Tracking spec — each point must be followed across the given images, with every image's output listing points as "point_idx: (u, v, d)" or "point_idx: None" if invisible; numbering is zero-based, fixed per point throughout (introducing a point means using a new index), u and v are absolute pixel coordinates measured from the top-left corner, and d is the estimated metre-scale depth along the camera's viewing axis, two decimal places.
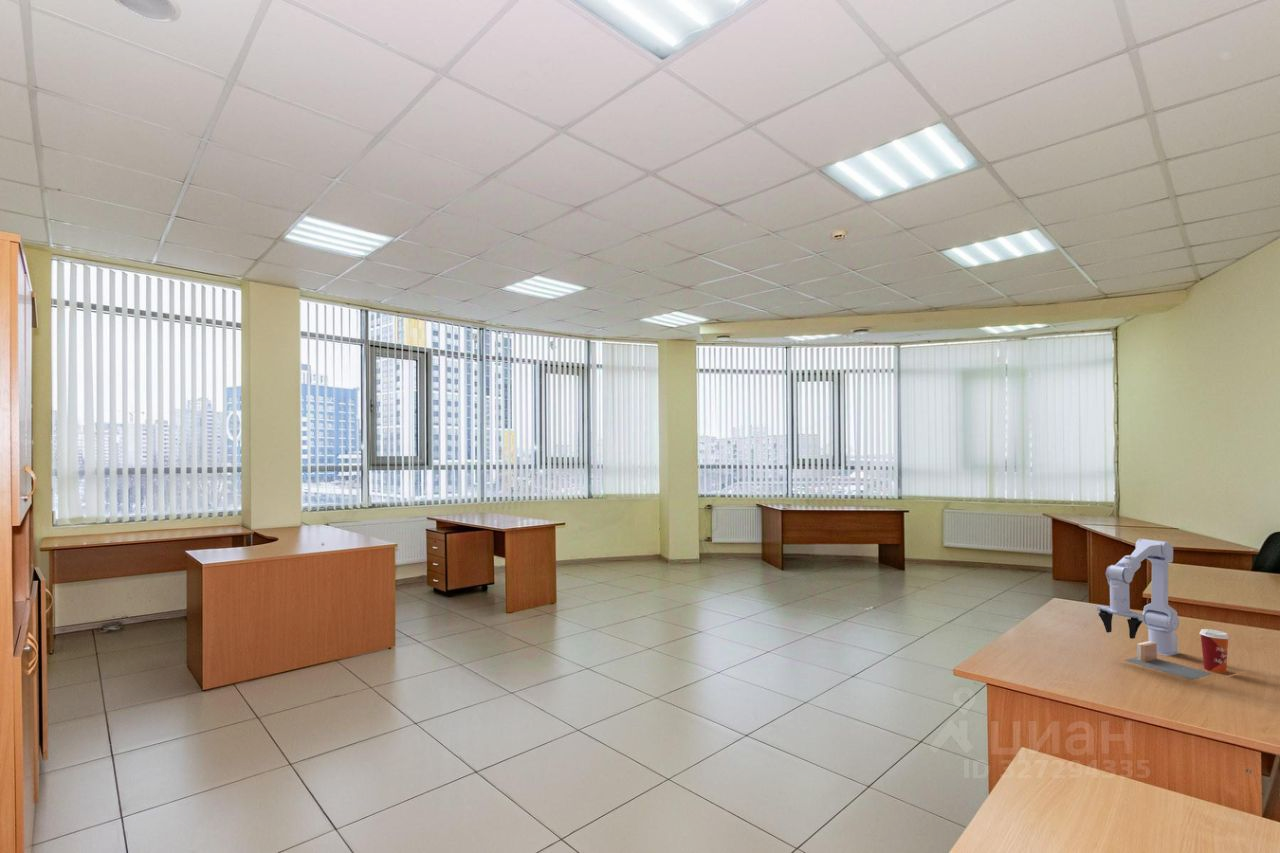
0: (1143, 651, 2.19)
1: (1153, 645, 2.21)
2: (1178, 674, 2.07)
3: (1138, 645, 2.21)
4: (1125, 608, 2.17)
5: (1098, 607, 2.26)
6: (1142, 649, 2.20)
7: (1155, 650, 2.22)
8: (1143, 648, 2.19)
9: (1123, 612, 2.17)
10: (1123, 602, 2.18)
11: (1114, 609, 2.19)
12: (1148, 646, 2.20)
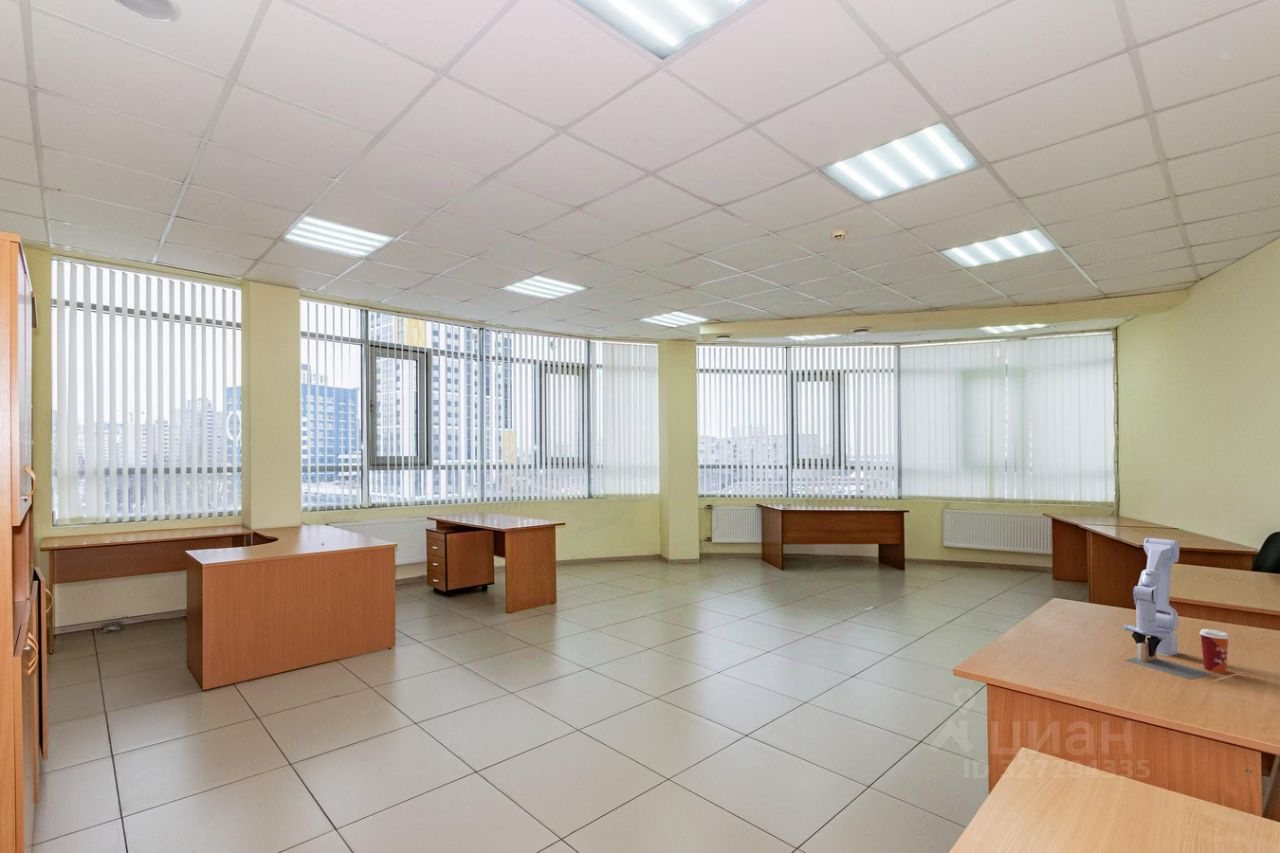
0: (1143, 651, 2.19)
1: None
2: (1178, 674, 2.07)
3: (1138, 645, 2.21)
4: (1152, 628, 2.19)
5: (1124, 626, 2.27)
6: (1142, 649, 2.20)
7: None
8: (1143, 648, 2.19)
9: (1150, 632, 2.19)
10: (1150, 622, 2.19)
11: (1141, 629, 2.21)
12: (1148, 646, 2.20)
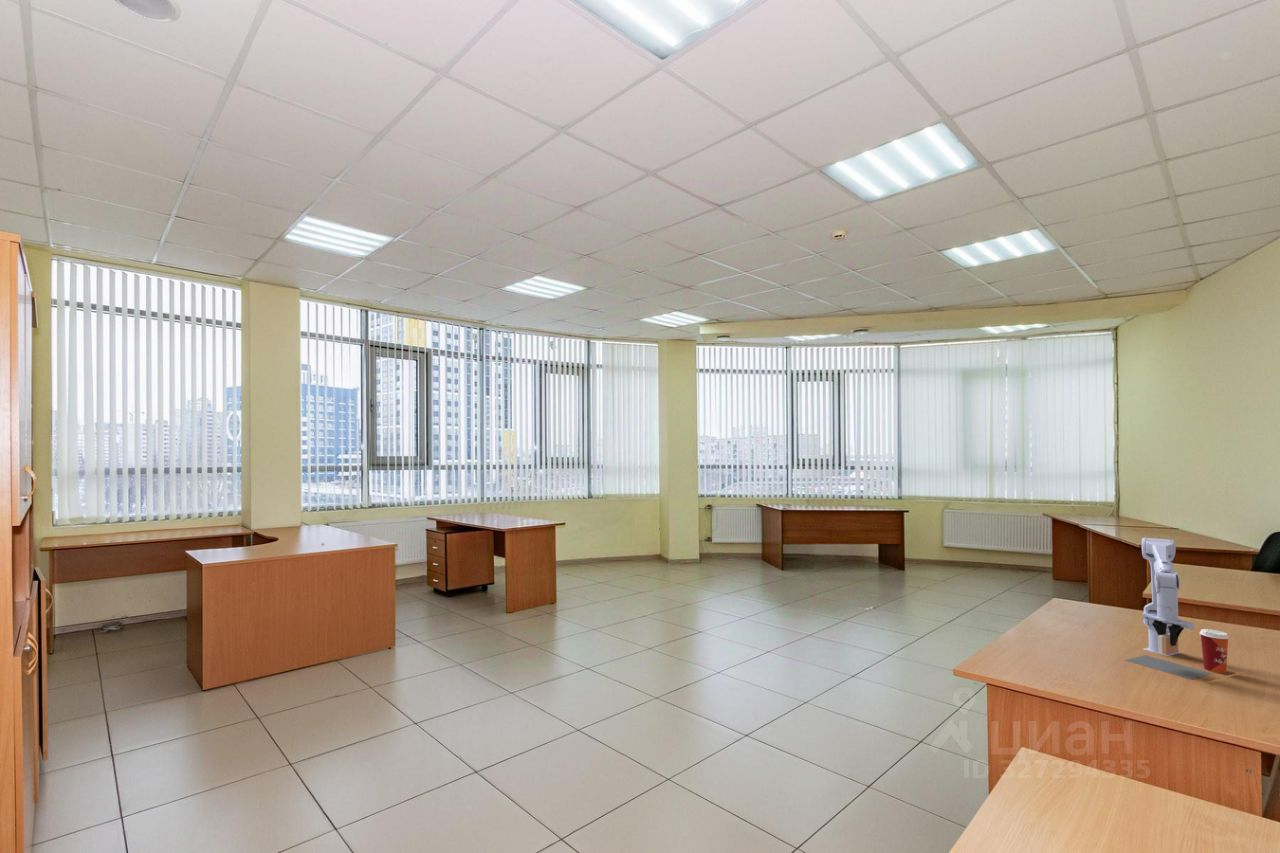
0: (1164, 643, 2.11)
1: None
2: (1178, 674, 2.07)
3: (1159, 637, 2.12)
4: (1174, 616, 2.11)
5: (1144, 615, 2.19)
6: (1163, 641, 2.11)
7: None
8: (1164, 640, 2.11)
9: (1171, 620, 2.11)
10: (1171, 610, 2.11)
11: (1162, 617, 2.13)
12: (1169, 638, 2.12)
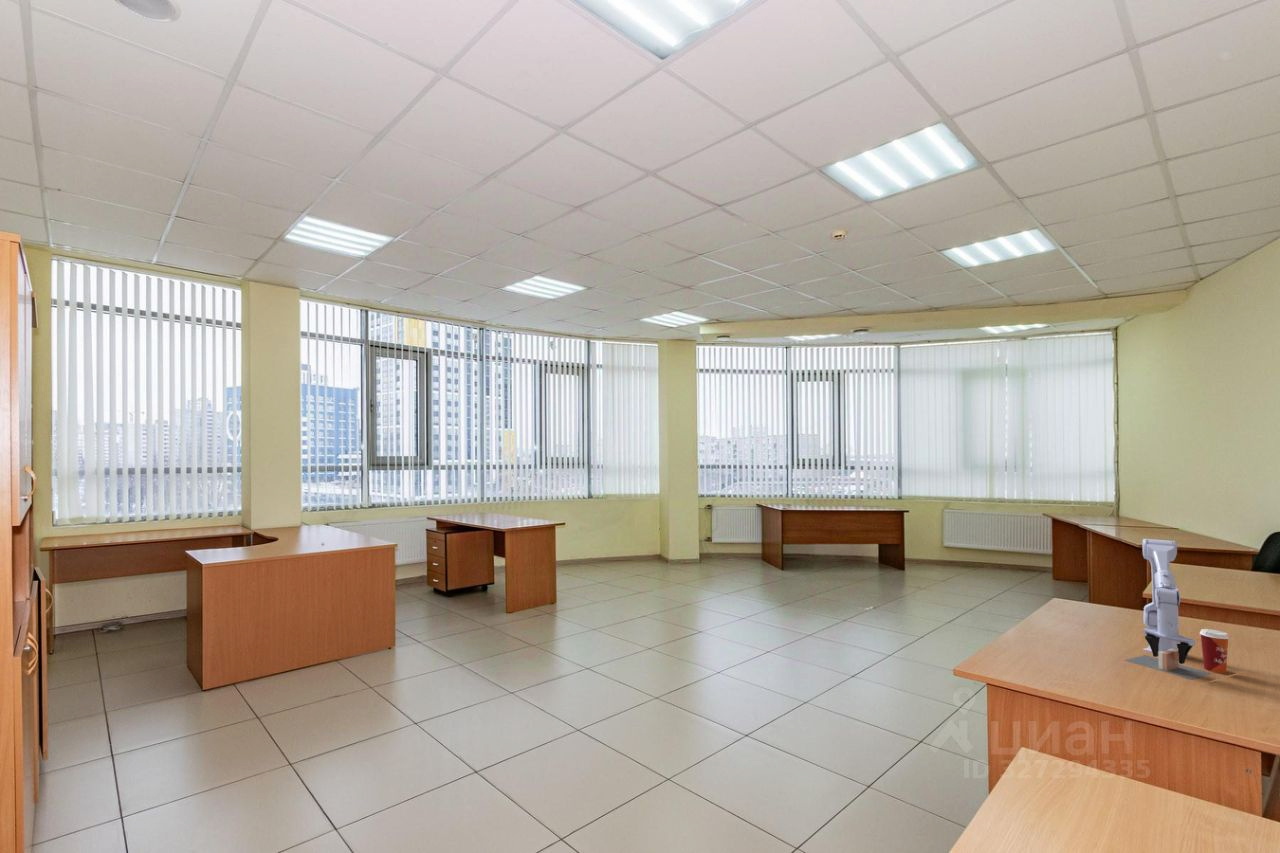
0: (1165, 659, 2.11)
1: (1175, 653, 2.13)
2: (1178, 674, 2.07)
3: (1159, 653, 2.12)
4: (1174, 632, 2.11)
5: (1144, 630, 2.19)
6: (1164, 657, 2.11)
7: (1177, 658, 2.13)
8: (1165, 656, 2.11)
9: (1172, 636, 2.10)
10: (1172, 626, 2.11)
11: (1162, 633, 2.13)
12: (1170, 654, 2.11)
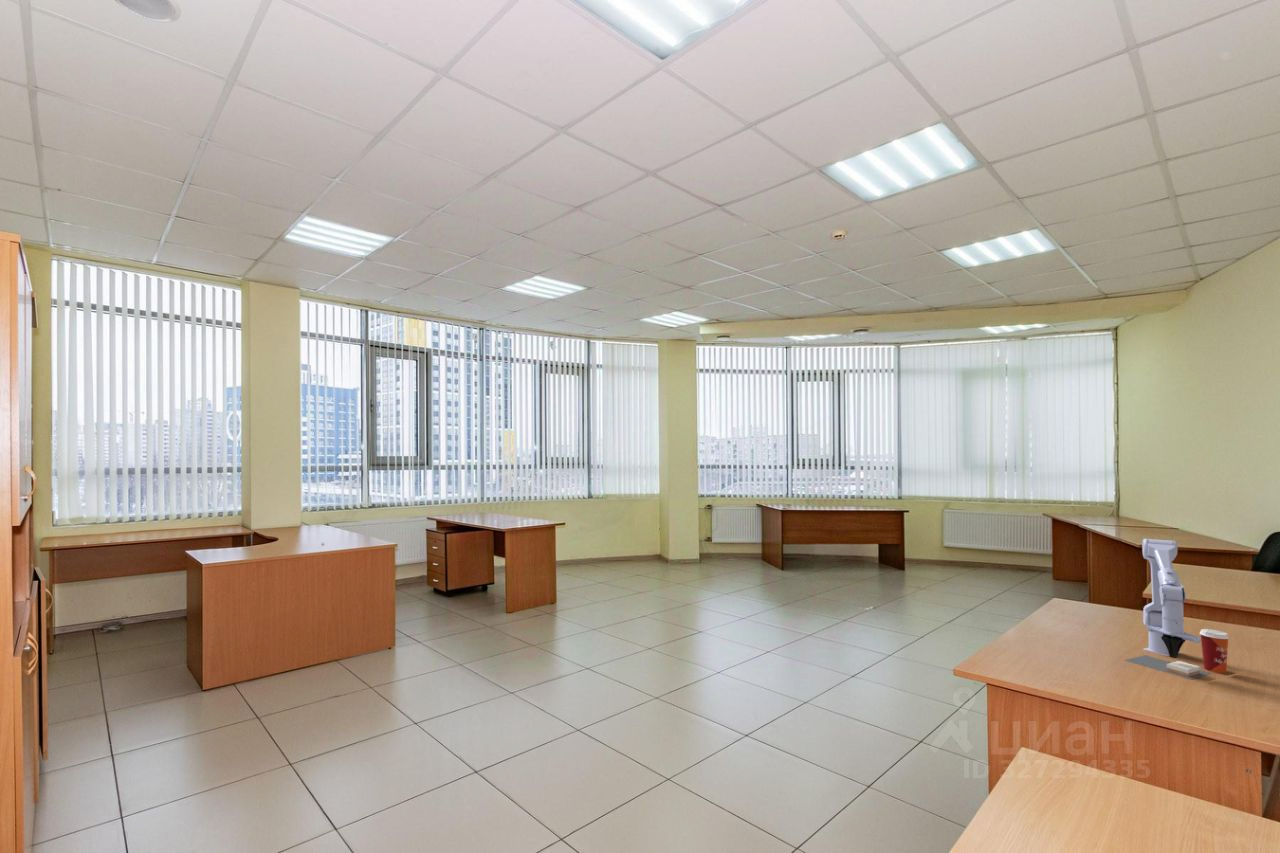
0: (1179, 673, 2.07)
1: None
2: (1178, 674, 2.07)
3: (1185, 670, 2.05)
4: (1179, 630, 2.09)
5: (1149, 627, 2.18)
6: (1182, 673, 2.06)
7: None
8: (1183, 674, 2.06)
9: (1177, 634, 2.09)
10: (1177, 623, 2.10)
11: (1167, 630, 2.11)
12: None
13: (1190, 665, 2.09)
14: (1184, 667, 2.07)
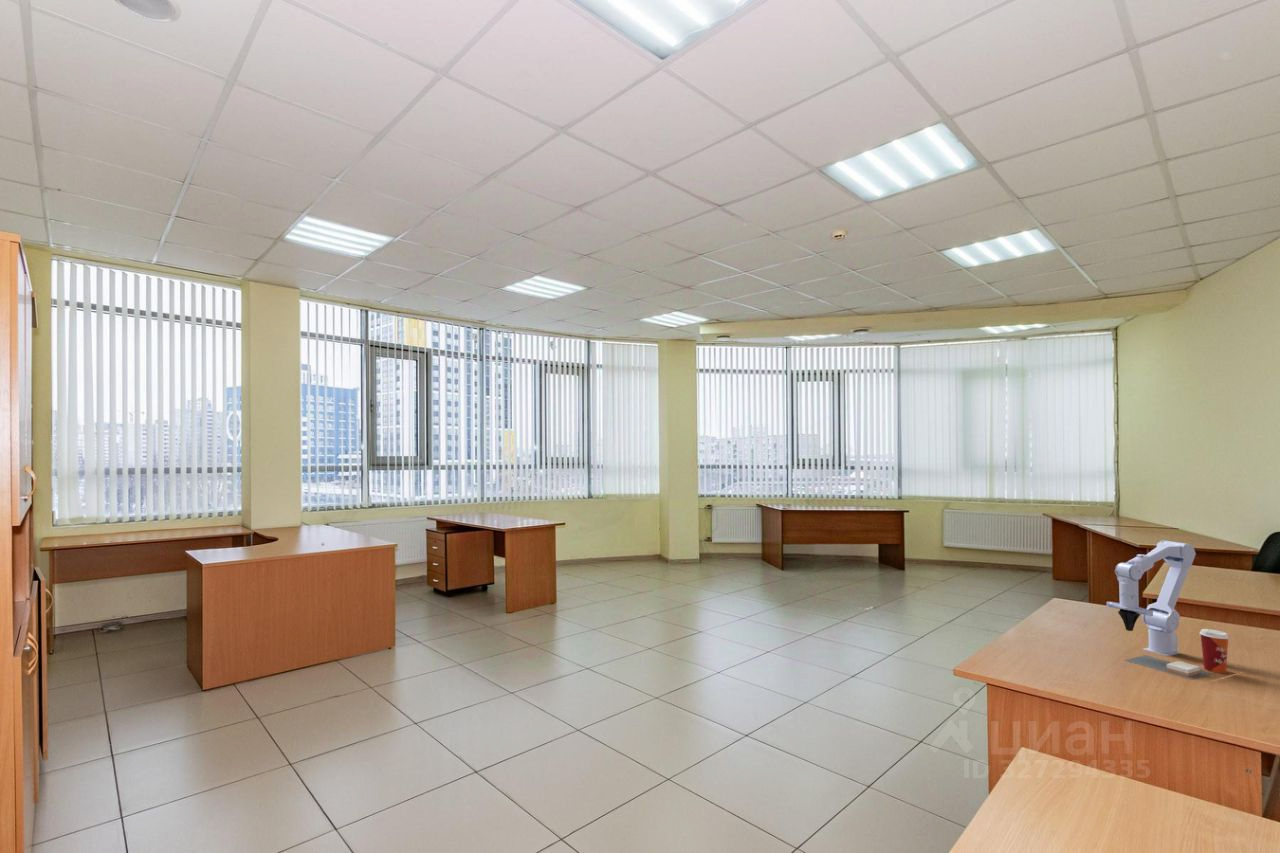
0: (1179, 673, 2.07)
1: None
2: (1178, 674, 2.07)
3: (1185, 670, 2.05)
4: (1134, 604, 2.25)
5: (1108, 603, 2.34)
6: (1182, 673, 2.06)
7: None
8: (1183, 674, 2.06)
9: (1132, 608, 2.25)
10: (1132, 598, 2.25)
11: (1123, 605, 2.27)
12: None
13: (1190, 665, 2.09)
14: (1184, 667, 2.07)
